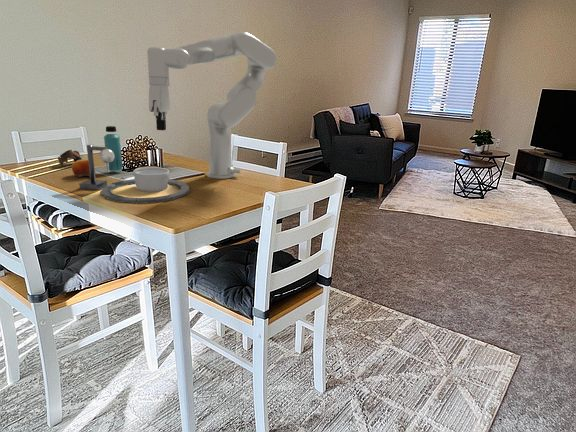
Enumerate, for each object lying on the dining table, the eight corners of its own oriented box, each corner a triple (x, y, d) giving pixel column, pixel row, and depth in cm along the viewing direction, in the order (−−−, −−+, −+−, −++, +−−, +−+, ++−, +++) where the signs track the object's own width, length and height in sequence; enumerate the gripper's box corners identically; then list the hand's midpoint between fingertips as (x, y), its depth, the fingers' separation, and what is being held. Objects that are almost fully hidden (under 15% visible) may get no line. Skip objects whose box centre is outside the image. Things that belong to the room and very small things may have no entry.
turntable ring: (199, 183, 170) (199, 180, 169) (171, 206, 141) (171, 202, 140) (126, 178, 172) (126, 175, 172) (84, 199, 143) (84, 195, 143)
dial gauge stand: (120, 186, 161) (117, 145, 156) (111, 191, 154) (107, 148, 149) (90, 184, 162) (85, 143, 157) (79, 188, 155) (74, 146, 150)
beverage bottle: (117, 174, 178) (113, 127, 171) (103, 173, 179) (99, 126, 172) (126, 171, 184) (122, 126, 177) (112, 170, 185) (108, 124, 178)
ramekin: (175, 185, 166) (175, 168, 164) (159, 194, 154) (158, 175, 152) (146, 182, 169) (144, 165, 166) (127, 190, 156) (125, 172, 154)
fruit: (77, 176, 166) (72, 157, 167) (73, 182, 172) (68, 164, 173) (98, 174, 171) (93, 156, 172) (93, 180, 178) (89, 162, 178)
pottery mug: (82, 169, 187) (70, 154, 182) (64, 177, 188) (52, 162, 183) (89, 157, 197) (78, 142, 192) (73, 165, 198) (61, 150, 193)
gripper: (157, 81, 167) (159, 127, 173) (141, 81, 153) (144, 131, 159) (175, 82, 167) (177, 128, 172) (160, 82, 152) (163, 132, 158)
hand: (161, 129), depth 166 cm, fingers closed
